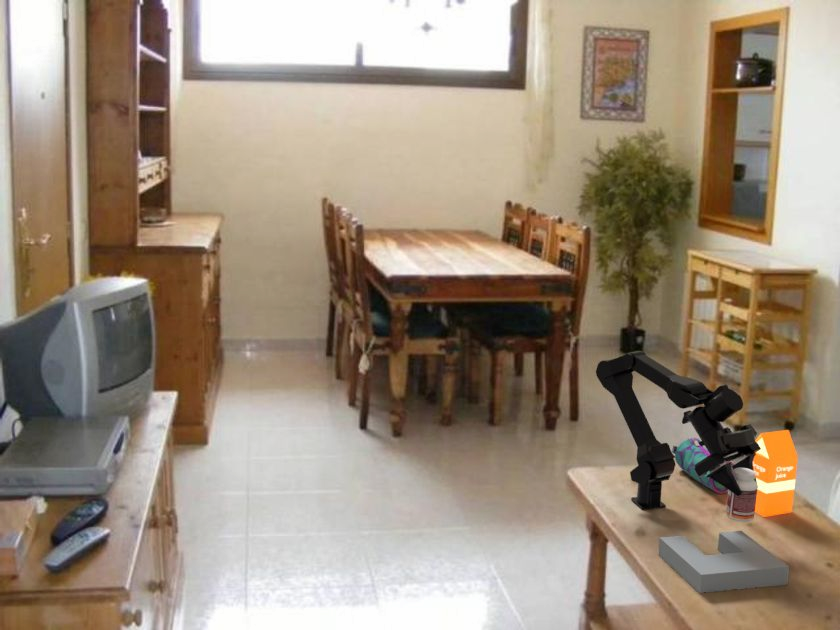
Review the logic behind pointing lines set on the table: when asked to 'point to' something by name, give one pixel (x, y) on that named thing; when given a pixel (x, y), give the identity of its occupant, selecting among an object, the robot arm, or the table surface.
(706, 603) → the table surface
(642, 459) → the robot arm
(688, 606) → the table surface
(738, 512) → the pill bottle
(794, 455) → the orange juice
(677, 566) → the notched board
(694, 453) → the pencil case
